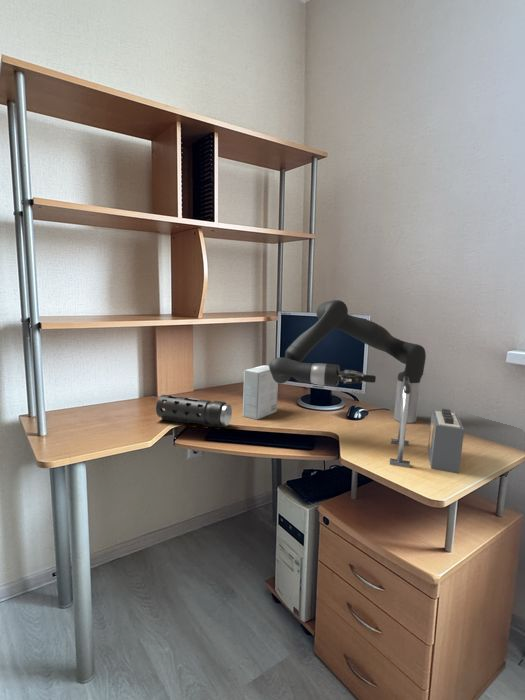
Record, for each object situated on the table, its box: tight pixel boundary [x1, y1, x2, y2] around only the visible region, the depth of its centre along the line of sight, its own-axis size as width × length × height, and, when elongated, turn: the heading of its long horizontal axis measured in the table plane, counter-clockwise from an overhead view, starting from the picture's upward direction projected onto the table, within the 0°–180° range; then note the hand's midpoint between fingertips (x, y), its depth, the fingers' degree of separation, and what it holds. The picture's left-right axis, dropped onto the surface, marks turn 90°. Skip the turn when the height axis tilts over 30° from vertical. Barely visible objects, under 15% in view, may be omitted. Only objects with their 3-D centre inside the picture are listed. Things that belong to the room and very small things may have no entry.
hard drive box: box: [242, 364, 279, 421], centre depth 180 cm, size 16×8×20 cm, turn 146°
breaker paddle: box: [429, 422, 434, 448], centre depth 141 cm, size 6×5×7 cm
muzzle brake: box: [155, 394, 233, 428], centre depth 164 cm, size 10×28×10 cm, turn 73°
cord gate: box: [389, 376, 411, 468], centre depth 143 cm, size 22×6×25 cm, turn 162°
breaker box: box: [427, 408, 465, 474], centre depth 140 cm, size 18×8×16 cm, turn 162°
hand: (375, 379), depth 146 cm, fingers closed
